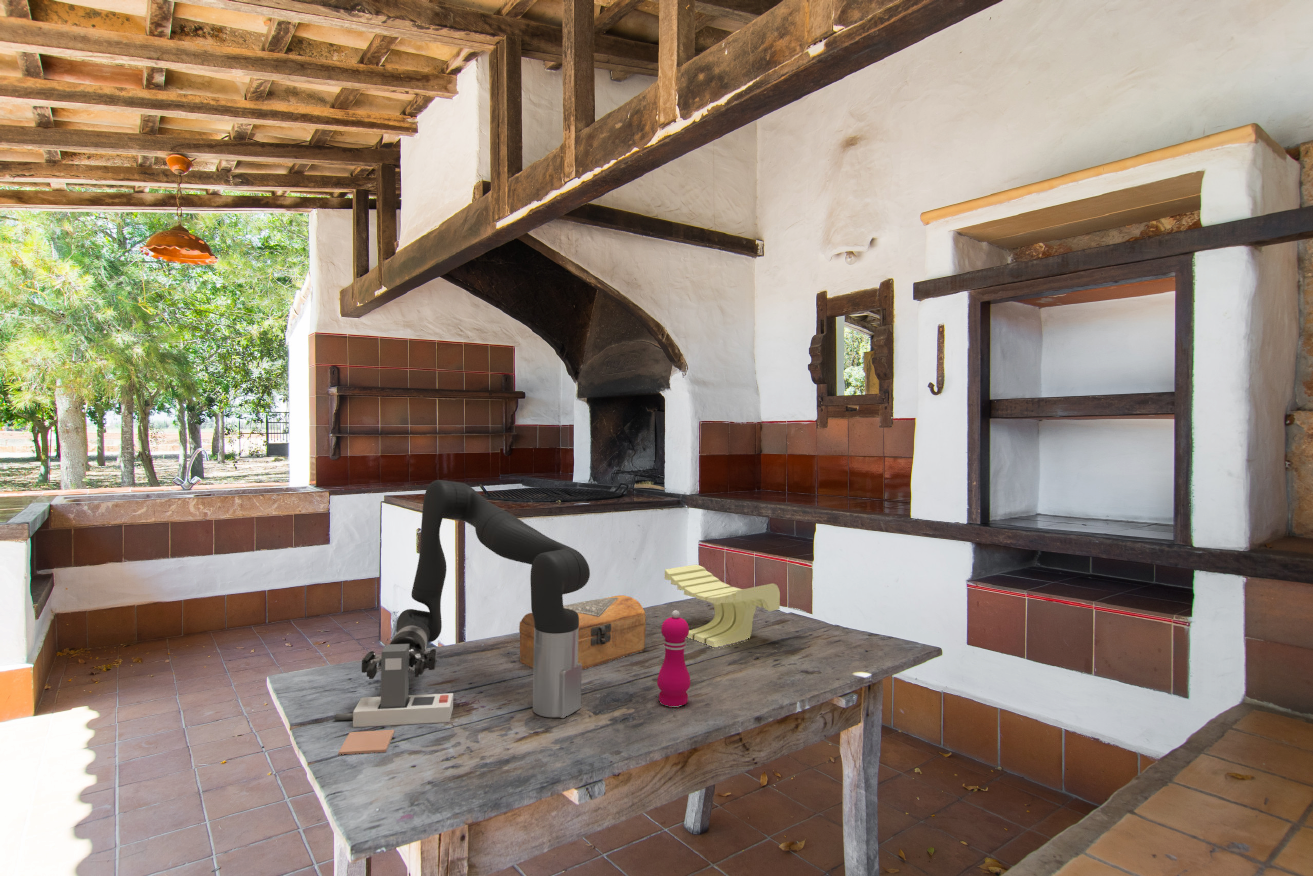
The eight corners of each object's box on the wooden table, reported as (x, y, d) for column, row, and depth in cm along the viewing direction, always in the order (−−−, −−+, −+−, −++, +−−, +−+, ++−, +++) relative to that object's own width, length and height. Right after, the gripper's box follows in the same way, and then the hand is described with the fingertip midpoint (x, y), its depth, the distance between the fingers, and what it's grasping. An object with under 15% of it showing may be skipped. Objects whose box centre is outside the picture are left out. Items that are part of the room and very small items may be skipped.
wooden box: (555, 681, 160) (556, 621, 160) (517, 662, 172) (518, 607, 172) (649, 653, 180) (651, 601, 180) (609, 638, 192) (611, 589, 192)
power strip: (453, 707, 143) (453, 690, 143) (449, 722, 136) (449, 704, 136) (340, 713, 139) (340, 695, 139) (330, 728, 132) (331, 709, 132)
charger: (408, 702, 140) (409, 643, 140) (404, 711, 136) (405, 651, 136) (385, 703, 139) (386, 644, 139) (380, 712, 135) (381, 652, 135)
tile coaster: (394, 732, 131) (394, 729, 131) (386, 752, 123) (386, 749, 123) (349, 734, 130) (349, 732, 130) (338, 755, 122) (338, 752, 122)
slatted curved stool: (778, 646, 189) (780, 581, 189) (739, 658, 178) (740, 589, 178) (702, 620, 212) (703, 563, 211) (663, 629, 201) (664, 569, 201)
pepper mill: (666, 711, 144) (669, 616, 144) (650, 698, 150) (653, 608, 150) (696, 705, 147) (698, 613, 147) (679, 693, 154) (681, 604, 153)
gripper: (374, 631, 150) (355, 656, 135) (441, 629, 153) (431, 653, 137) (373, 665, 151) (355, 694, 135) (440, 662, 153) (430, 690, 137)
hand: (393, 673), depth 136 cm, fingers open, 8 cm apart
